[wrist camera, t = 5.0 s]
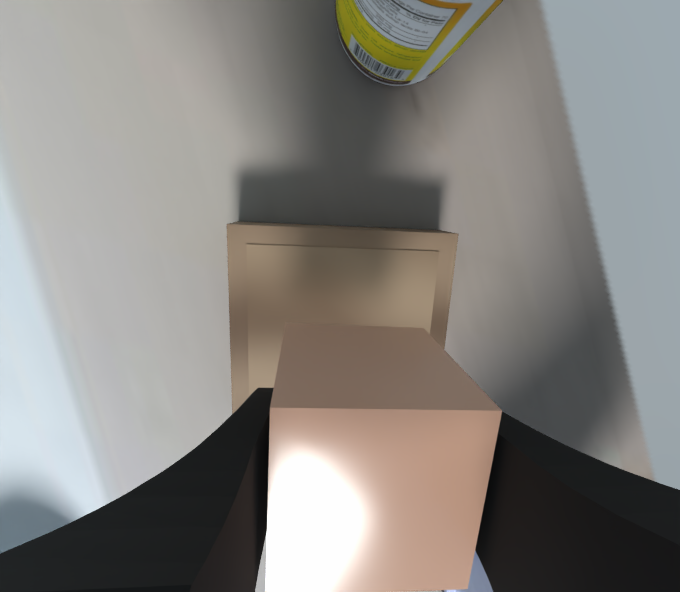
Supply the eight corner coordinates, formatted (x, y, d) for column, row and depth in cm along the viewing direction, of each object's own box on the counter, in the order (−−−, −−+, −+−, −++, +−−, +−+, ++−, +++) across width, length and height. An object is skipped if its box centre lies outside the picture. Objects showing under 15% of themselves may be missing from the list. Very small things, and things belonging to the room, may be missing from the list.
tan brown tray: (419, 406, 21) (434, 433, 18) (242, 406, 20) (232, 434, 17) (438, 229, 18) (458, 234, 16) (238, 221, 17) (226, 224, 15)
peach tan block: (407, 446, 13) (467, 588, 8) (281, 446, 13) (265, 597, 8) (423, 327, 12) (502, 411, 7) (285, 322, 11) (269, 407, 7)
